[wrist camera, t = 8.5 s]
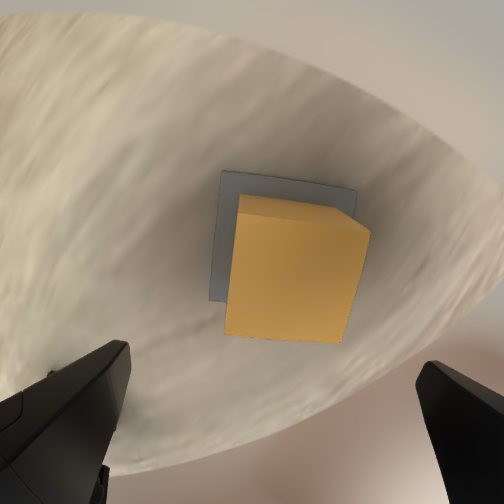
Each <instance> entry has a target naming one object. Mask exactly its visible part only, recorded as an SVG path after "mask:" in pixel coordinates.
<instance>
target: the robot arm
mask: <svg viewBox="0 0 504 504" xmlns="http://www.w3.org/2000/svg"><path fill="white" fill-rule="evenodd" d="M130 374H131V356H130V347H129V344H128V343H127V342H125V341H120V340H112V341H111V342H109V343H107V344H105V345H104V346H102V347H100V348H98V349H96V350H95V351H93V352H91V353H89V354H87V355H86V356H84V357H82V358H80V359H78V360H77V361H75V362H73V363H71V364H69V365H68V366H66V367H64V368H62V369H60V370H59V371H57V372H55V373H54V372H49V373H48V375H47V377H46V378H44V379H42V380H41V381H39V382H37V383H35V384H33V385H31V386H30V387H28V388H26V389H24V390H23V392H22V391H20V392H19V393H17V394H15V395H13V396H11V397H9V398H7V399H5V400H3V401H1V402H0V504H106V500H107V489H108V479H109V470H110V468H109V467H107V466H106V465H102V463H103V460H104V457H105V454H106V452H107V449H108V446H109V443H110V441H111V438H112V435H113V433H114V432H115V430H116V425H117V422H118V419H119V416H120V412H121V409H122V405H123V401H124V397H125V393H126V389H127V385H128V381H129V377H130ZM415 386H416V390H417V394H418V398H419V402H420V405H421V409H422V413H423V417H424V421H425V424H426V428H427V431H428V434H429V437H430V440H431V442H432V445H433V449H434V451H435V455H436V458H437V461H438V464H439V467H440V471H441V474H442V477H443V481H444V485H445V488H446V491H447V495H448V499H449V503H450V504H504V397H503V396H502V395H500V394H498V393H496V392H494V391H492V390H490V389H488V388H487V387H485V386H483V385H481V384H479V383H478V382H476V381H474V380H472V379H470V378H469V377H467V376H465V375H463V374H461V373H459V372H458V371H456V370H454V369H452V368H450V367H448V366H447V365H445V364H443V363H441V362H439V361H436V360H435V361H427V362H426V363H425V364H424V366H423V368H422V370H421V372H420V374H419V376H418V378H417V380H416V384H415Z"/></svg>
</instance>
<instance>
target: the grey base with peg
mask: <svg viewBox="0 0 504 504" xmlns="http://www.w3.org/2000/svg"><path fill="white" fill-rule="evenodd" d="M357 193H358V192H356V191H354V190H350V189H345V188H339V187H334V186H328V185H322V184H317V183H311V182H304V181H298V180H291V179H285V178H278V177H271V176H263V175H256V174H248V173H240V172H231V171H222V174H221V182H220V191H219V200H218V209H217V218H216V228H215V238H214V248H213V259H212V269H211V281H210V293H209V301H217V302H226V303H227V301H228V291H229V281H230V272H231V264H232V255H233V247H234V238H235V230H236V222H237V214H238V206H239V198H240V194H245V195H253V196H261V197H268V198H276V199H283V200H290V201H297V202H304V203H310V204H317V205H323V206H329V207H335V208H337V209H338V210H340V211H341V212H343V213H344V214H346V215H347V216H349V217H350V218H352V219H353V214H354V209H355V204H356V199H357Z"/></svg>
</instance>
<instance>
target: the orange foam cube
mask: <svg viewBox="0 0 504 504" xmlns="http://www.w3.org/2000/svg"><path fill="white" fill-rule="evenodd" d="M370 235H371V231H369V230H368V229H367V228H365V227H364V226H362V225H361V224H359V223H358V222H356V221H355V220H353V219H352V218H350V217H349V216H347V215H346V214H344V213H343V212H341V211H340V210H338V209H337V208H335V207H329V206H323V205H317V204H310V203H304V202H297V201H290V200H283V199H276V198H268V197H261V196H253V195H245V194H240V198H239V206H238V214H237V222H236V230H235V238H234V247H233V255H232V264H231V272H230V281H229V291H228V301H227V311H226V321H225V332H224V335H231V336H241V337H251V338H263V339H275V340H289V341H305V342H325V343H341V340H342V337H343V334H344V331H345V327H346V324H347V321H348V318H349V314H350V311H351V308H352V304H353V301H354V297H355V294H356V290H357V287H358V283H359V279H360V276H361V272H362V268H363V264H364V260H365V256H366V252H367V248H368V243H369V239H370Z"/></svg>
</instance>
